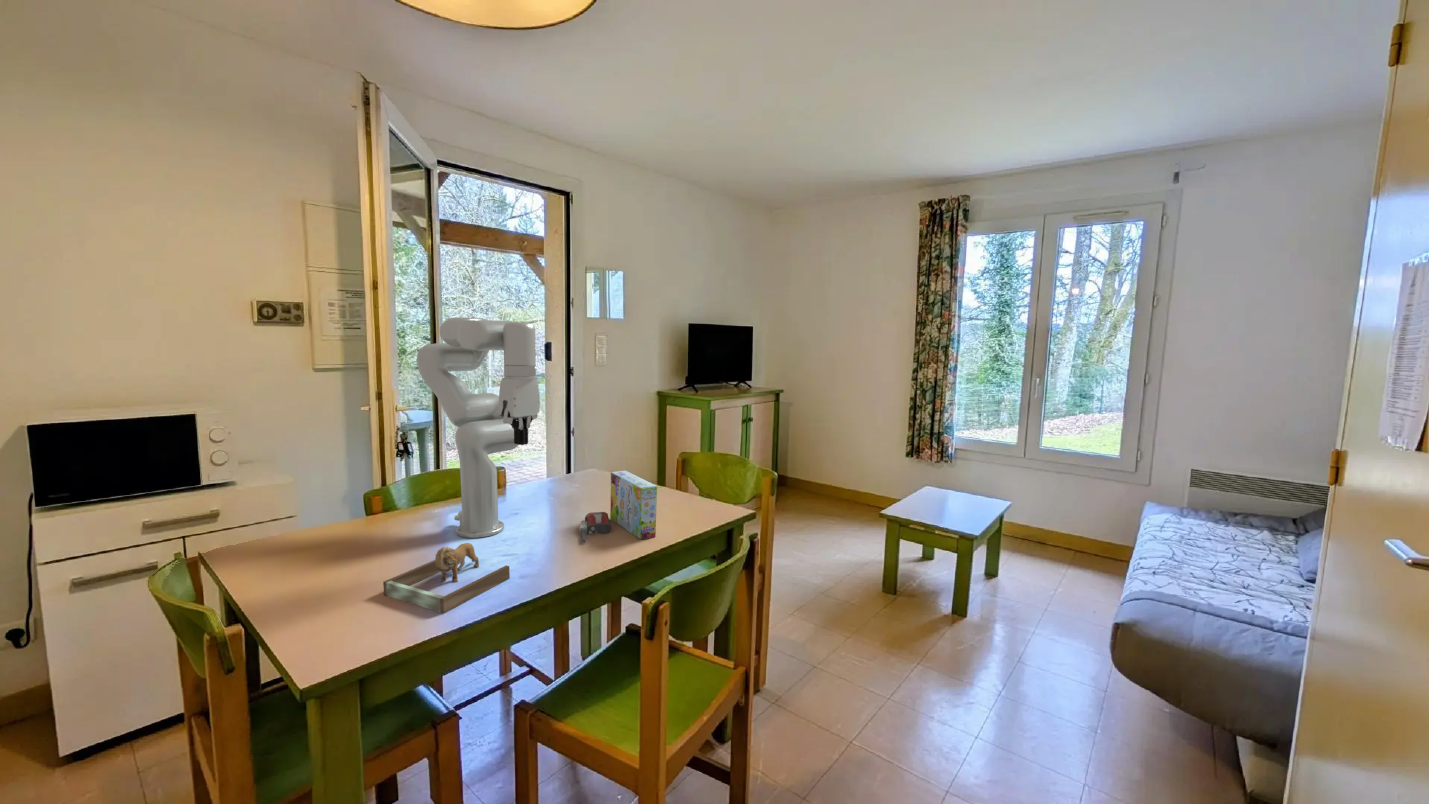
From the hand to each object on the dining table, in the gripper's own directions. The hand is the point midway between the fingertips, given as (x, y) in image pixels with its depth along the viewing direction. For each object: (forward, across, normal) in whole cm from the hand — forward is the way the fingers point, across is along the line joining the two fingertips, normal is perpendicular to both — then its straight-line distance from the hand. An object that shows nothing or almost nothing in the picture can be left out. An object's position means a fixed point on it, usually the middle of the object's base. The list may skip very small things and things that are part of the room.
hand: (521, 443), depth 141 cm
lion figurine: (+29, +18, -2) cm, 34 cm away
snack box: (+29, -29, +15) cm, 43 cm away
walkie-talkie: (+29, -21, +7) cm, 37 cm away
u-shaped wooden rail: (+29, +23, 0) cm, 36 cm away
